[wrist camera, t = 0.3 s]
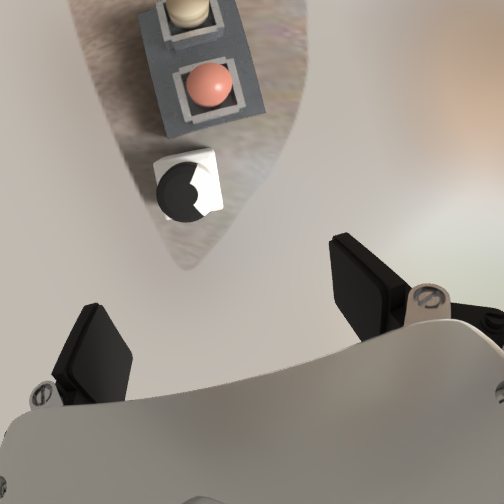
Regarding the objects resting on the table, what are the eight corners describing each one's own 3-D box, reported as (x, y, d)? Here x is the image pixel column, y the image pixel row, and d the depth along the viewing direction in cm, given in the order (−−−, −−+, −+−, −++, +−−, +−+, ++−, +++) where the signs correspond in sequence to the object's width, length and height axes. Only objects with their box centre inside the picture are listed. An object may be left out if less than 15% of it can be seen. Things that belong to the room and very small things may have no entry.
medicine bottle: (171, 206, 39) (158, 236, 28) (161, 157, 36) (142, 167, 25) (220, 196, 39) (227, 222, 29) (212, 146, 36) (215, 152, 26)
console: (144, 26, 27) (130, 4, 19) (228, 5, 28) (235, -22, 20) (172, 138, 35) (163, 139, 27) (258, 115, 35) (272, 110, 28)
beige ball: (167, 5, 21) (162, -10, 17) (204, -4, 21) (204, -20, 17) (173, 33, 22) (169, 20, 19) (211, 23, 23) (213, 9, 19)
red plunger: (185, 77, 25) (182, 69, 21) (223, 67, 25) (226, 58, 21) (194, 112, 27) (192, 109, 23) (232, 102, 27) (237, 97, 23)
